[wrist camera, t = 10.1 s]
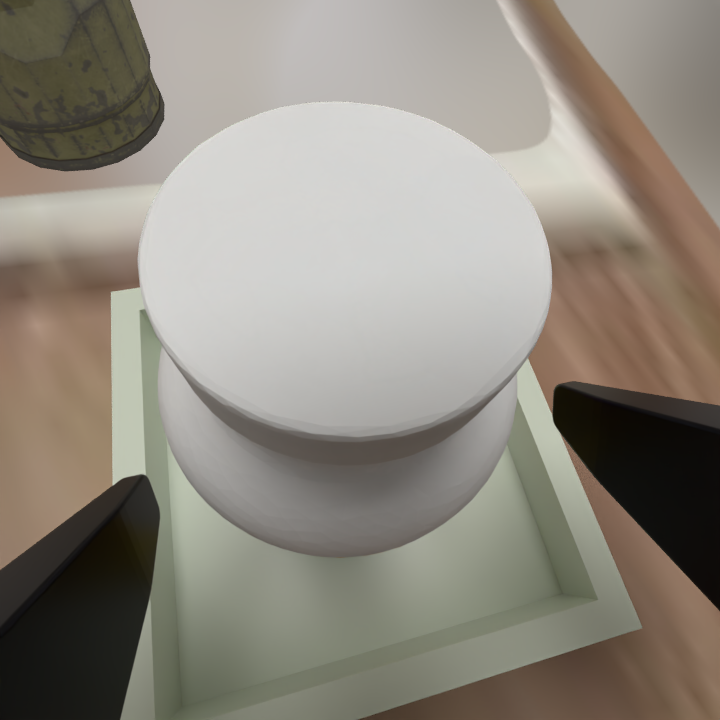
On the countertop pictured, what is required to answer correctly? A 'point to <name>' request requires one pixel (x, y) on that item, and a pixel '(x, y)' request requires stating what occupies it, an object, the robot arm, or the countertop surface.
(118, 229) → the countertop surface
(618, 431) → the robot arm
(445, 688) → the tray
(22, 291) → the countertop surface
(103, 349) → the countertop surface
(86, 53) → the thermos
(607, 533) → the countertop surface
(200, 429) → the supplement bottle
